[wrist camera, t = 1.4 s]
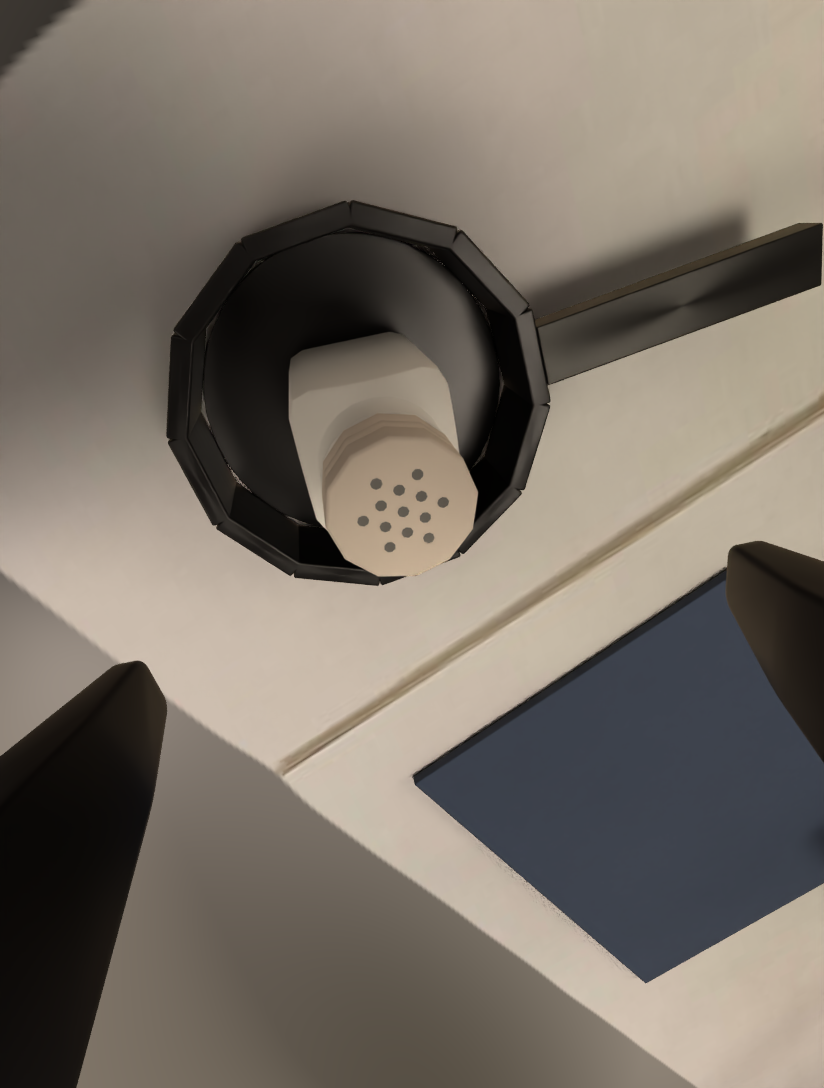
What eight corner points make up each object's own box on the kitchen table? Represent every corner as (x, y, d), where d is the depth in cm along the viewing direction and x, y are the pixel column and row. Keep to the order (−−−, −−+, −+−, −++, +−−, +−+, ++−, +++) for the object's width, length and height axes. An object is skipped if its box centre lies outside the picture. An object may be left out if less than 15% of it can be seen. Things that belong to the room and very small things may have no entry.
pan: (270, 583, 24) (267, 628, 21) (115, 284, 18) (85, 294, 15) (759, 403, 24) (818, 425, 21) (751, 53, 18) (829, 24, 16)
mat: (412, 776, 30) (414, 784, 29) (736, 562, 27) (743, 567, 27) (642, 976, 43) (645, 983, 42) (875, 843, 40) (882, 850, 40)
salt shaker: (404, 325, 20) (486, 395, 12) (424, 440, 22) (506, 571, 14) (283, 350, 20) (280, 441, 11) (314, 465, 22) (329, 614, 13)
